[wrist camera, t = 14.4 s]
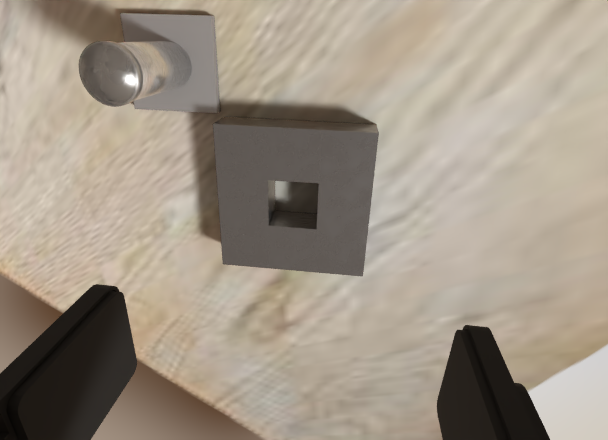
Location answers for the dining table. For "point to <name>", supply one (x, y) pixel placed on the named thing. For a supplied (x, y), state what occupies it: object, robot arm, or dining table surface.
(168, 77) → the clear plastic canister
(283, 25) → the dining table surface
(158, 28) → the mat
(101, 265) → the dining table surface
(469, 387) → the robot arm
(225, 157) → the housing
